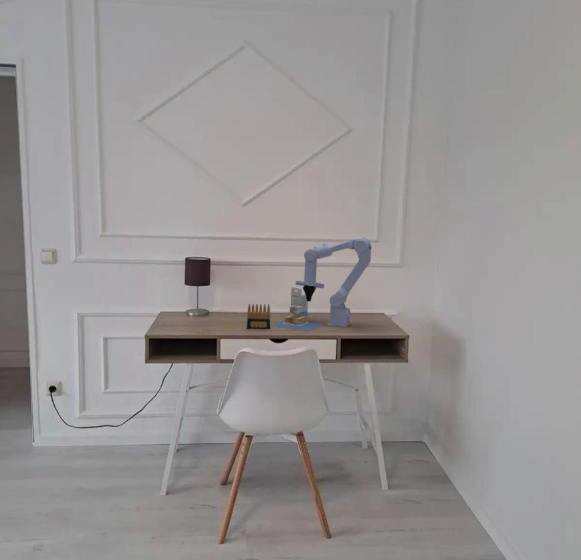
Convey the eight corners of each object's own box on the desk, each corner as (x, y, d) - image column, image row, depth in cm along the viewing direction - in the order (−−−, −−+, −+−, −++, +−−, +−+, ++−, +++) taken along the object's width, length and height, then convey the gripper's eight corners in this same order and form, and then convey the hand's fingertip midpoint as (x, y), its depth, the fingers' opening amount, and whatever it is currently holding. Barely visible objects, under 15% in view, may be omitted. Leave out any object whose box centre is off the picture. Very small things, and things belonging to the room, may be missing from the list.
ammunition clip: (246, 329, 236) (247, 303, 235) (246, 328, 238) (247, 303, 236) (270, 330, 237) (270, 304, 235) (270, 329, 238) (270, 303, 237)
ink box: (307, 316, 268) (308, 288, 266) (300, 317, 265) (301, 289, 263) (297, 313, 275) (298, 286, 273) (290, 314, 272) (290, 286, 270)
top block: (301, 316, 251) (302, 306, 251) (297, 318, 247) (298, 307, 247) (293, 315, 253) (293, 305, 253) (289, 316, 249) (289, 306, 249)
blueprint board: (324, 325, 250) (324, 323, 250) (308, 332, 234) (308, 331, 234) (287, 320, 259) (287, 318, 258) (269, 327, 243) (269, 325, 243)
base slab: (306, 322, 253) (306, 316, 252) (299, 325, 246) (299, 319, 245) (291, 320, 256) (292, 314, 256) (284, 323, 249) (284, 317, 249)
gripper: (293, 272, 252) (291, 300, 254) (320, 276, 245) (319, 304, 247) (299, 271, 258) (298, 298, 260) (326, 274, 252) (324, 302, 254)
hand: (308, 301), depth 254 cm, fingers closed
